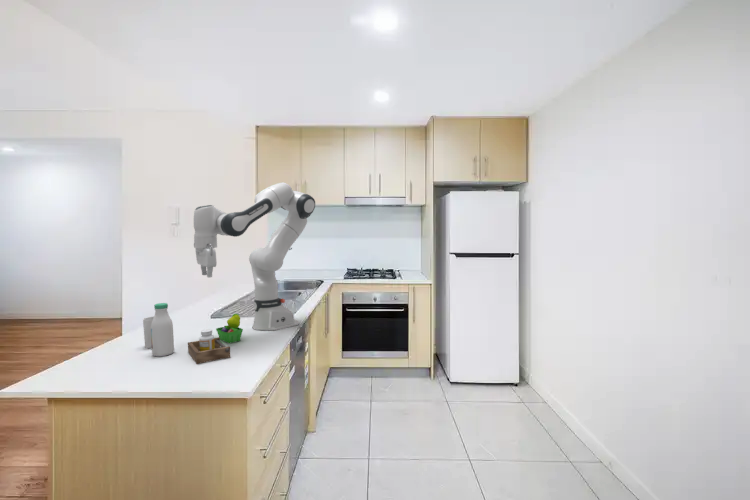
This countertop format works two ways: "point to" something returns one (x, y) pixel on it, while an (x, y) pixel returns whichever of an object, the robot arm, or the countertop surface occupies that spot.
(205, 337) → the supplement bottle
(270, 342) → the countertop surface
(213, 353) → the wooden bar rack
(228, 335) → the fruit basket
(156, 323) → the milk bottle
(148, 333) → the mug
